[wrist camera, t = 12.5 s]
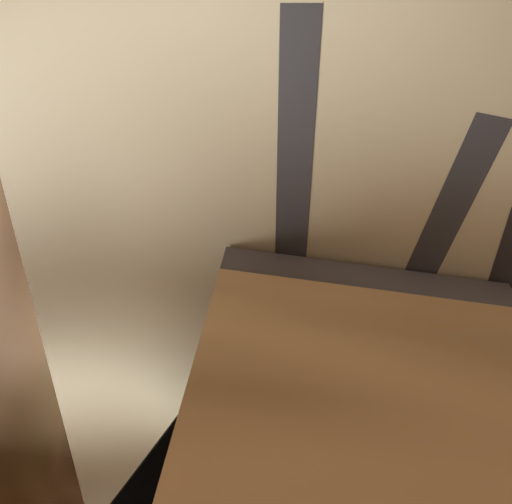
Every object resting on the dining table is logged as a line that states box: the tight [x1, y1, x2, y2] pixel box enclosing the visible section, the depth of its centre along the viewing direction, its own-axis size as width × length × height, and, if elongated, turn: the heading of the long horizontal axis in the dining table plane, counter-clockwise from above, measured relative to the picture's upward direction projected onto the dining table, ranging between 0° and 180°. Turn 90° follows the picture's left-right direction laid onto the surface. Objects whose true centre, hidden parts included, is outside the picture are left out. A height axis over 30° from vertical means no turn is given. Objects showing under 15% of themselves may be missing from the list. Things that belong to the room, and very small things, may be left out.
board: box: [0, 0, 512, 504], centre depth 9 cm, size 20×12×2 cm, turn 175°
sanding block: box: [152, 247, 512, 504], centre depth 7 cm, size 7×4×4 cm, turn 175°
